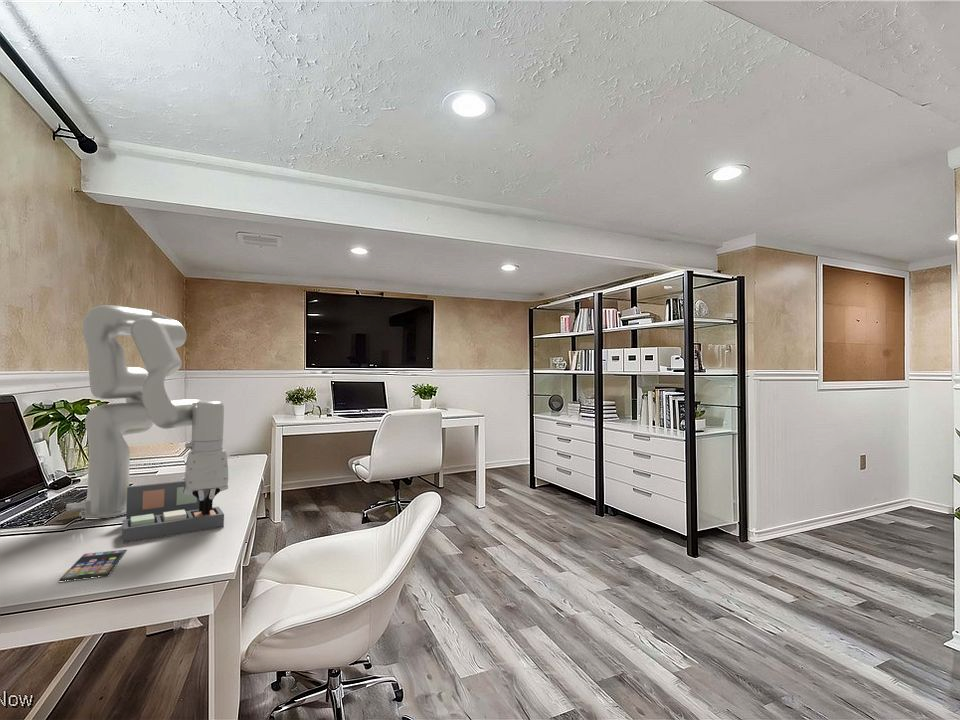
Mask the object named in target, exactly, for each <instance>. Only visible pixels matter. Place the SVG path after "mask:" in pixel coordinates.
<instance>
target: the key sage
mask: <svg viewBox="0 0 960 720" xmlns="http://www.w3.org/2000/svg"><path fill="white" fill-rule="evenodd" d="M154 522H155V518H154V515H153V514H147V515H140V516H133V517H131V523H130V527H133V526H140V525H146V524H153V523H154Z"/></svg>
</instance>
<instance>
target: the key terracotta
mask: <svg viewBox="0 0 960 720" xmlns="http://www.w3.org/2000/svg"><path fill="white" fill-rule="evenodd" d="M214 514H216V513H215V512H214V510H210V514H209V515H214ZM200 516H207V514H205V515H202V513H201V512H195V513H194V514H193V518H194V517H200Z"/></svg>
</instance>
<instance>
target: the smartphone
mask: <svg viewBox="0 0 960 720" xmlns="http://www.w3.org/2000/svg"><path fill="white" fill-rule="evenodd" d="M127 550H128V549H119V550H118V549H117V550H110V551H109V550H108V551H101V552H100V551H99V552H98V551H97V552H89V553H84V554H82V555H81V556H80V558H79V559H78V560H76V562H75V563H73V564H72V566H71V567H70V568H69V569H67V571H65V573H64V574H63V575H62V576H61V577H60V578H58V582H59V581H65V580H66V581H67V580H74V579H83V578H91V577H98V576H107V577H109V576H110V575H111V573H112V572H113V570H114V569H115V568H116V566H117V565H118V564H119V562H120V561H119V560H121V559H122V557H124V555H125V553H126V552H127ZM116 564H117V565H116ZM115 565H116V566H115ZM114 567H115V568H114ZM113 568H114V569H113ZM112 569H113V570H112ZM111 571H112V572H111ZM110 572H111V573H110ZM109 574H110V575H109ZM108 575H109V576H108ZM91 579H92V578H91ZM83 580H84V579H83ZM67 582H68V581H67Z"/></svg>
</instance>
